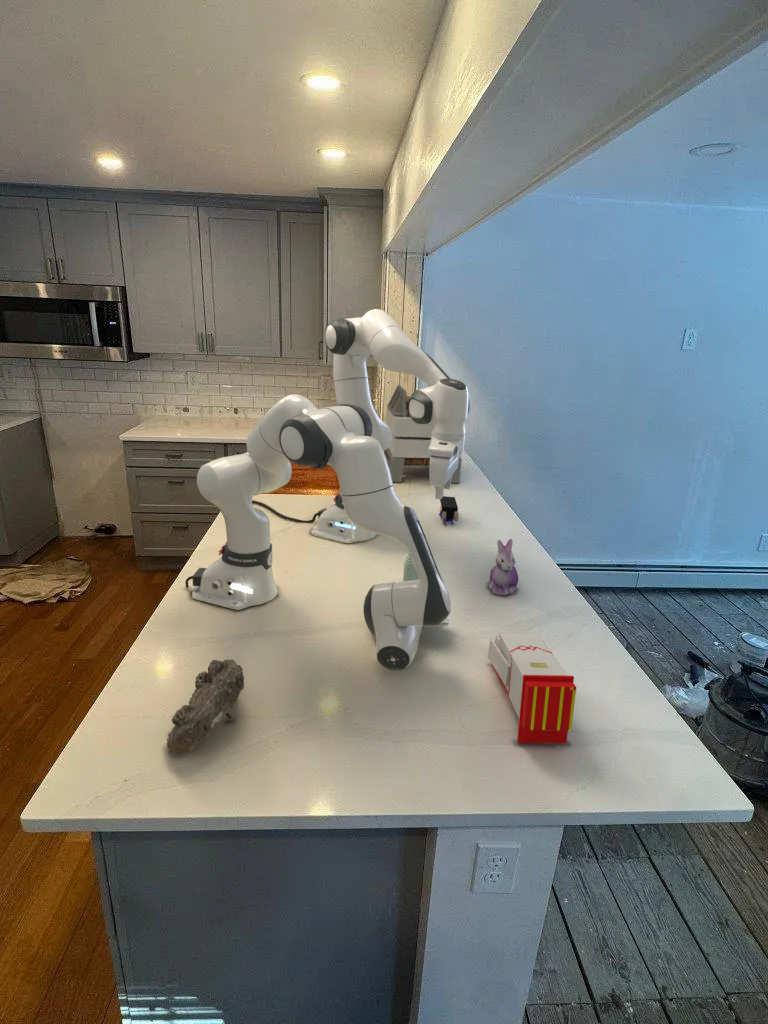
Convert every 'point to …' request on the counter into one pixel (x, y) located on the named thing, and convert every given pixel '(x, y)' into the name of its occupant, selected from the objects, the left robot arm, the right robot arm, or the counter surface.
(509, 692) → the toy
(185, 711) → the fossil
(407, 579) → the bottle
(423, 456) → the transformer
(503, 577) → the figurine
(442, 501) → the figurine character
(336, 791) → the counter surface
